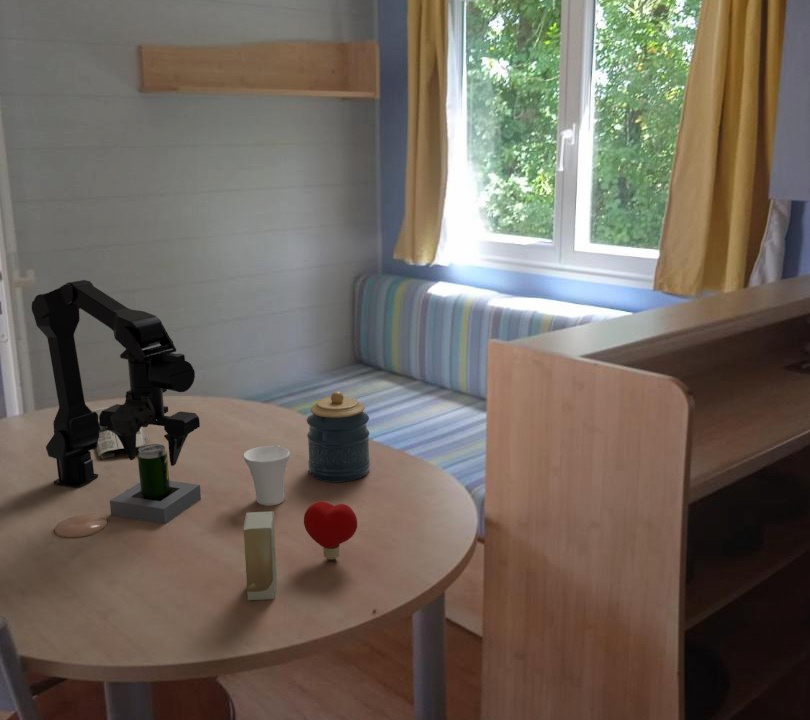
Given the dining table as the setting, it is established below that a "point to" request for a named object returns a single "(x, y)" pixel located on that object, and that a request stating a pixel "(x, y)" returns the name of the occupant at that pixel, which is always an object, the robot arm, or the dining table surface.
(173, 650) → the dining table surface
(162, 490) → the beer can
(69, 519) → the coaster
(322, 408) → the canister
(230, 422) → the dining table surface
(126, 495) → the square frame
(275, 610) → the dining table surface
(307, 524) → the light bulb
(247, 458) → the cup
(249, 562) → the skincare box
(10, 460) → the dining table surface
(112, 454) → the newspaper
